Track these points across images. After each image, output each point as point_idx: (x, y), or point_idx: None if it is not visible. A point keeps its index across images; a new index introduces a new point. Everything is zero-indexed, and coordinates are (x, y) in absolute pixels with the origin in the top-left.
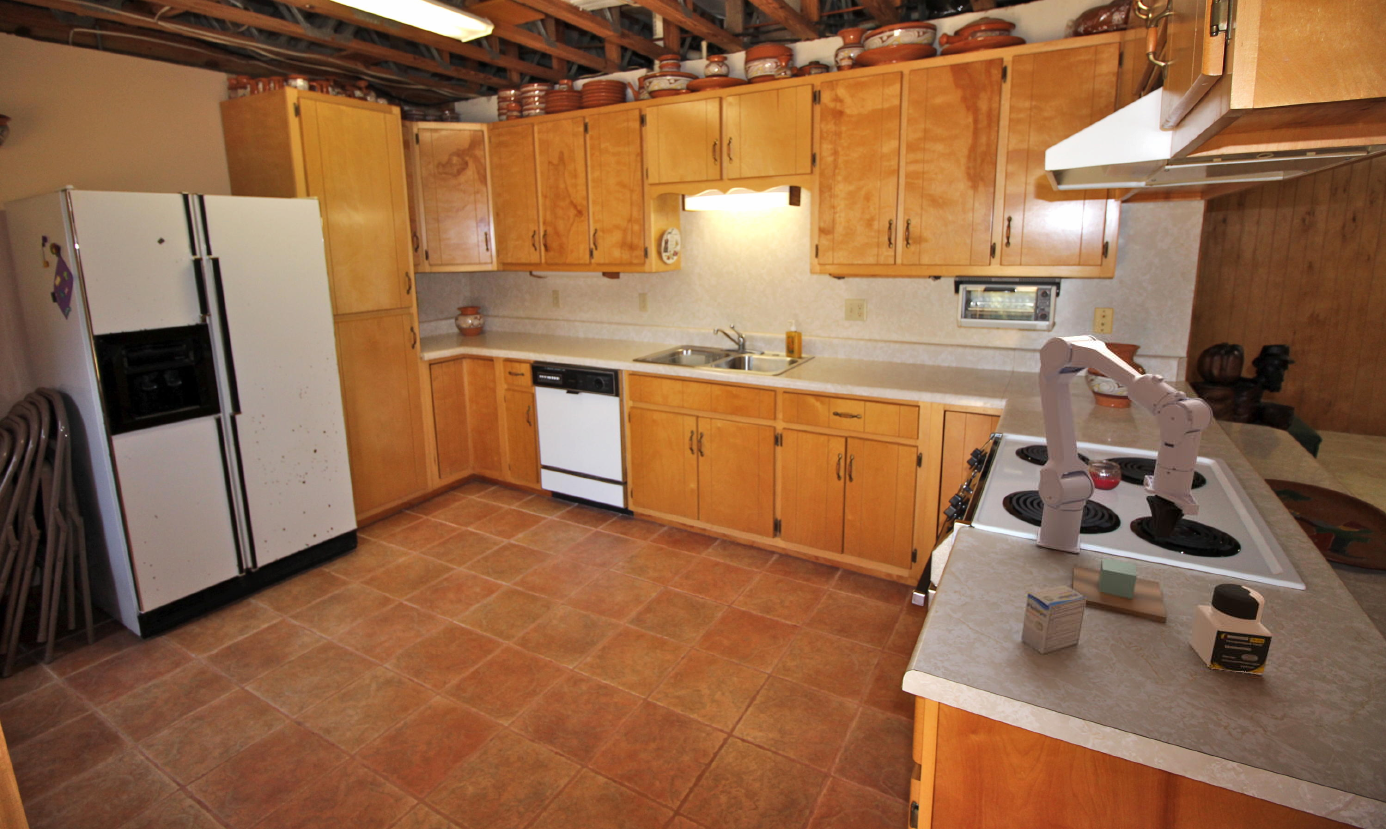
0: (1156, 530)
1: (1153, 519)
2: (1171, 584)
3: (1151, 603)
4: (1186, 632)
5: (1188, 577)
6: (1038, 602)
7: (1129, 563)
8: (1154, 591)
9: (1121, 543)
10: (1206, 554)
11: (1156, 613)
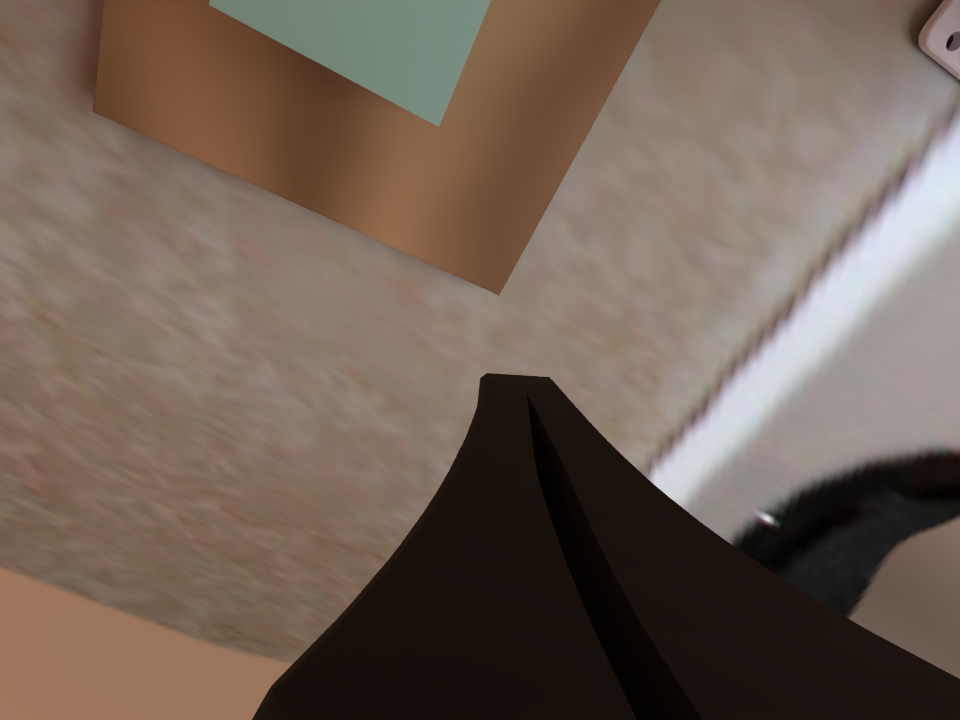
0: (497, 398)
1: (595, 461)
2: (521, 353)
3: (246, 118)
4: (46, 165)
5: None
6: None
7: (446, 86)
8: (396, 218)
9: (917, 356)
10: None
11: (122, 76)
